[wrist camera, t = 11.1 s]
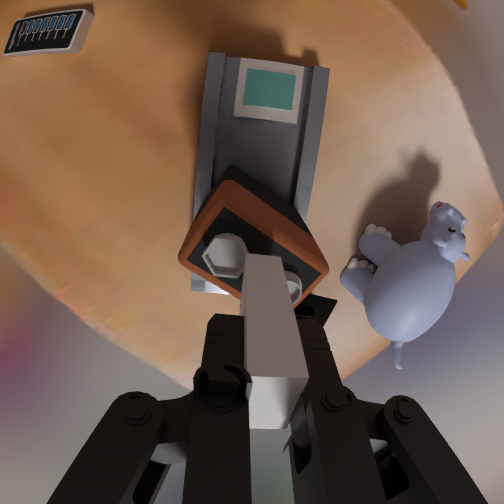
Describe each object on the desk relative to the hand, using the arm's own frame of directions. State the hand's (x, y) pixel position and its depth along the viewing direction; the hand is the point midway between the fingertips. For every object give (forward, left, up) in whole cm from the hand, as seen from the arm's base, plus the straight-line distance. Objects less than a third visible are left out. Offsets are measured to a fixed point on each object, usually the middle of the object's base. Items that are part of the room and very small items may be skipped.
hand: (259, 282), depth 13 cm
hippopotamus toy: (+4, +16, -13) cm, 21 cm away
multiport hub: (-17, -23, -14) cm, 31 cm away
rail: (-2, 0, -13) cm, 13 cm away
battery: (0, 0, -10) cm, 10 cm away
